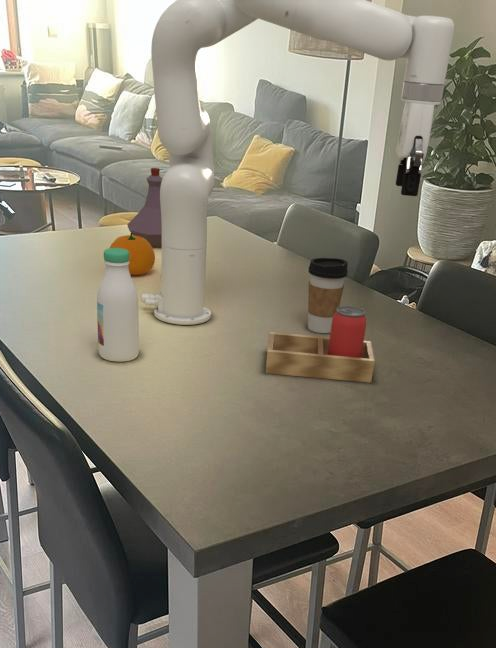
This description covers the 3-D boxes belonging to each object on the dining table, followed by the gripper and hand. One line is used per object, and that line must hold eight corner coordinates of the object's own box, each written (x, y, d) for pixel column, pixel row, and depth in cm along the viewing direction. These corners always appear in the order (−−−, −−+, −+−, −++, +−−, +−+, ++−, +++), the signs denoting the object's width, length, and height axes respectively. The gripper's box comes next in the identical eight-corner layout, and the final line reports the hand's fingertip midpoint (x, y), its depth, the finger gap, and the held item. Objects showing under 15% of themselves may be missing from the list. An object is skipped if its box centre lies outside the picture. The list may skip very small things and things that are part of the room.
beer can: (323, 362, 156) (330, 304, 149) (355, 364, 156) (364, 305, 150) (328, 375, 150) (336, 315, 144) (361, 377, 151) (371, 317, 144)
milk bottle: (145, 352, 153) (145, 249, 142) (127, 365, 147) (125, 258, 136) (110, 345, 155) (107, 242, 144) (91, 358, 149) (86, 251, 138)
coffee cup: (337, 337, 169) (347, 268, 160) (299, 332, 170) (306, 262, 161) (341, 325, 175) (350, 258, 167) (304, 320, 177) (312, 253, 168)
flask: (118, 246, 217) (116, 170, 206) (135, 233, 231) (135, 161, 220) (175, 253, 216) (176, 176, 205) (189, 240, 229) (191, 167, 218)
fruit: (164, 272, 200) (164, 232, 194) (134, 281, 191) (134, 240, 186) (129, 262, 205) (128, 223, 199) (98, 271, 196) (97, 230, 191)
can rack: (265, 373, 149) (267, 351, 146) (267, 353, 158) (269, 331, 155) (371, 383, 149) (374, 360, 146) (367, 362, 158) (370, 341, 155)
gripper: (397, 88, 153) (383, 181, 162) (407, 96, 138) (391, 197, 147) (435, 91, 153) (419, 184, 162) (449, 99, 138) (430, 201, 147)
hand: (406, 190), depth 155 cm, fingers open, 9 cm apart
